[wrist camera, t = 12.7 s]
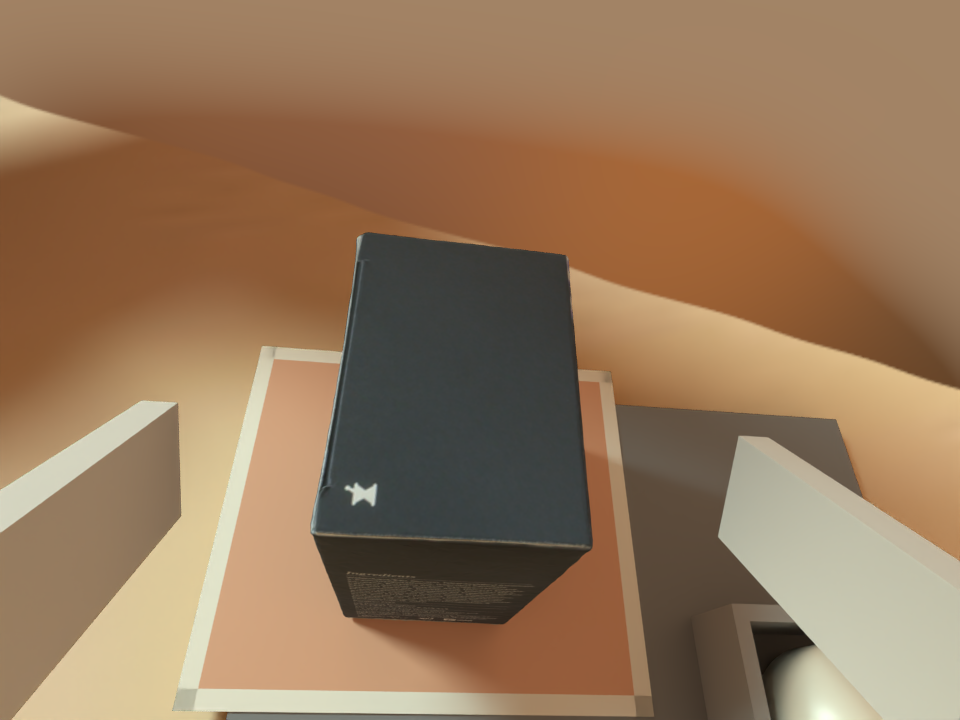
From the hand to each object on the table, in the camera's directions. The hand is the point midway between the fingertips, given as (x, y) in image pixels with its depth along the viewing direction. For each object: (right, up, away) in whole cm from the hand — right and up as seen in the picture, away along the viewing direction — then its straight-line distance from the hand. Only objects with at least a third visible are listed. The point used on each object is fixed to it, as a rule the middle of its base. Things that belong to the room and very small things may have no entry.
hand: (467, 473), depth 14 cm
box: (-2, -3, +8) cm, 9 cm away
